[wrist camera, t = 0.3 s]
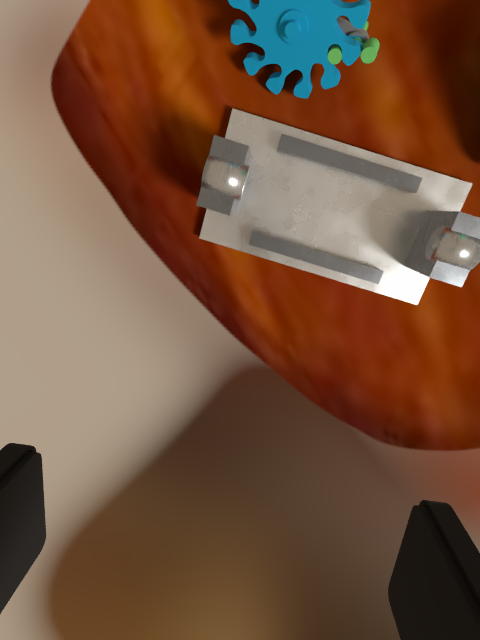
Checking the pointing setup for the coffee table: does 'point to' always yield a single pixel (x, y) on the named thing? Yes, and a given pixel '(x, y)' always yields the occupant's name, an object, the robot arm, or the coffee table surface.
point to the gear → (304, 38)
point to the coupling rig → (336, 209)
